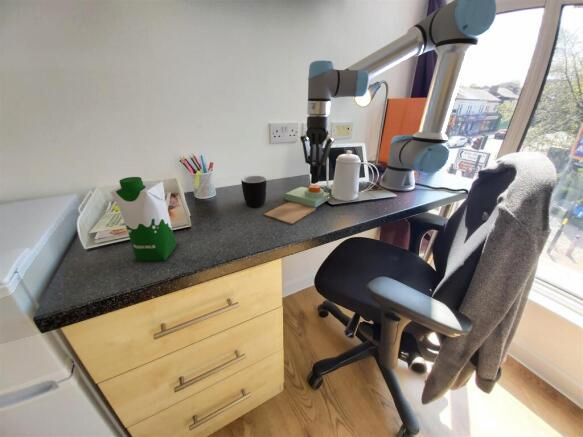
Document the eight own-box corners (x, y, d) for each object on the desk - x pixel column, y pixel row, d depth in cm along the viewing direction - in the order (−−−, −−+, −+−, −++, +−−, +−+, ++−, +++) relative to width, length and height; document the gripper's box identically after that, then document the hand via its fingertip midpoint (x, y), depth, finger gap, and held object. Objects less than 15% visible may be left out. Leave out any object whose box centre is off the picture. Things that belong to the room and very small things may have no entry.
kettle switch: (322, 191, 92) (322, 186, 91) (316, 194, 89) (316, 188, 88) (312, 188, 94) (312, 183, 94) (306, 191, 91) (306, 186, 90)
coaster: (316, 209, 86) (316, 208, 86) (291, 224, 75) (291, 223, 75) (289, 202, 92) (289, 201, 92) (263, 214, 82) (263, 213, 81)
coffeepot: (320, 188, 108) (322, 145, 100) (376, 197, 97) (384, 151, 89) (310, 195, 99) (312, 149, 91) (371, 206, 89) (379, 156, 81)
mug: (270, 207, 88) (269, 180, 83) (247, 211, 84) (244, 183, 80) (260, 196, 98) (259, 172, 93) (239, 199, 94) (236, 175, 90)
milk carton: (130, 263, 56) (101, 182, 48) (149, 243, 64) (127, 171, 56) (167, 262, 57) (145, 182, 48) (182, 242, 65) (165, 171, 56)
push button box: (329, 199, 95) (330, 188, 93) (315, 208, 87) (315, 196, 85) (300, 192, 103) (301, 182, 101) (285, 199, 95) (285, 189, 93)
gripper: (296, 115, 81) (294, 181, 91) (329, 116, 74) (324, 188, 84) (308, 114, 86) (305, 177, 96) (340, 116, 79) (334, 183, 89)
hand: (314, 182), depth 90 cm, fingers closed
